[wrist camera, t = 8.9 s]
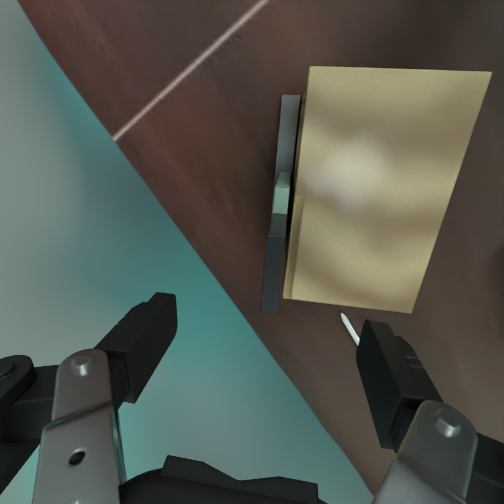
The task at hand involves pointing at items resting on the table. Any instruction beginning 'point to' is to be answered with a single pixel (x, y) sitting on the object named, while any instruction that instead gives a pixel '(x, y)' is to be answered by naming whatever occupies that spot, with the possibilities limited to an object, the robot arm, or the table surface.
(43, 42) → the table surface
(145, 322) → the robot arm
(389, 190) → the cabinet
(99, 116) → the table surface
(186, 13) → the table surface
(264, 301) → the sliding door
